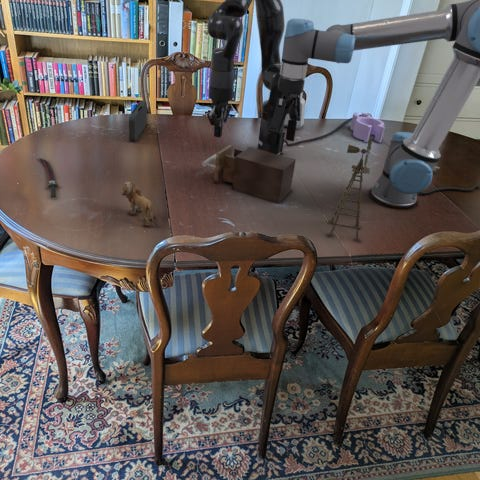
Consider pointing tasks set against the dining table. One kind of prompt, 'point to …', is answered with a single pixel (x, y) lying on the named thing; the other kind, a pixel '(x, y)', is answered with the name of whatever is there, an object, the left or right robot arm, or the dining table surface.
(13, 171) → the dining table surface
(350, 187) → the miniature windmill
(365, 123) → the clip
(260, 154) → the cabinet
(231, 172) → the drawer
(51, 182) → the sword
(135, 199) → the lion figurine
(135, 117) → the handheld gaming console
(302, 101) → the electronic device
